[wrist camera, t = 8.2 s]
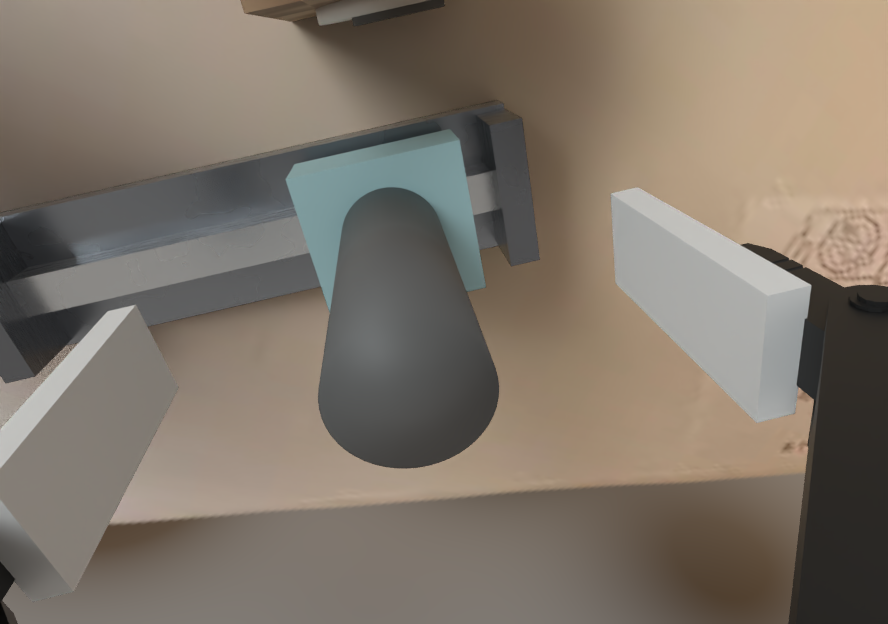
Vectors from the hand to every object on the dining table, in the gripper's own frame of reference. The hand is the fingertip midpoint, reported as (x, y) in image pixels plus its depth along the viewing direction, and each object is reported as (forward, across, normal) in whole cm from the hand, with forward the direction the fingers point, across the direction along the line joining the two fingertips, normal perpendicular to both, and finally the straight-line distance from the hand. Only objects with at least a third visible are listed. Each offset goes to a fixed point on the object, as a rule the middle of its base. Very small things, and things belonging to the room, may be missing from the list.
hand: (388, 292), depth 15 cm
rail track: (+11, -5, 0) cm, 12 cm away
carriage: (+9, 0, 0) cm, 9 cm away
